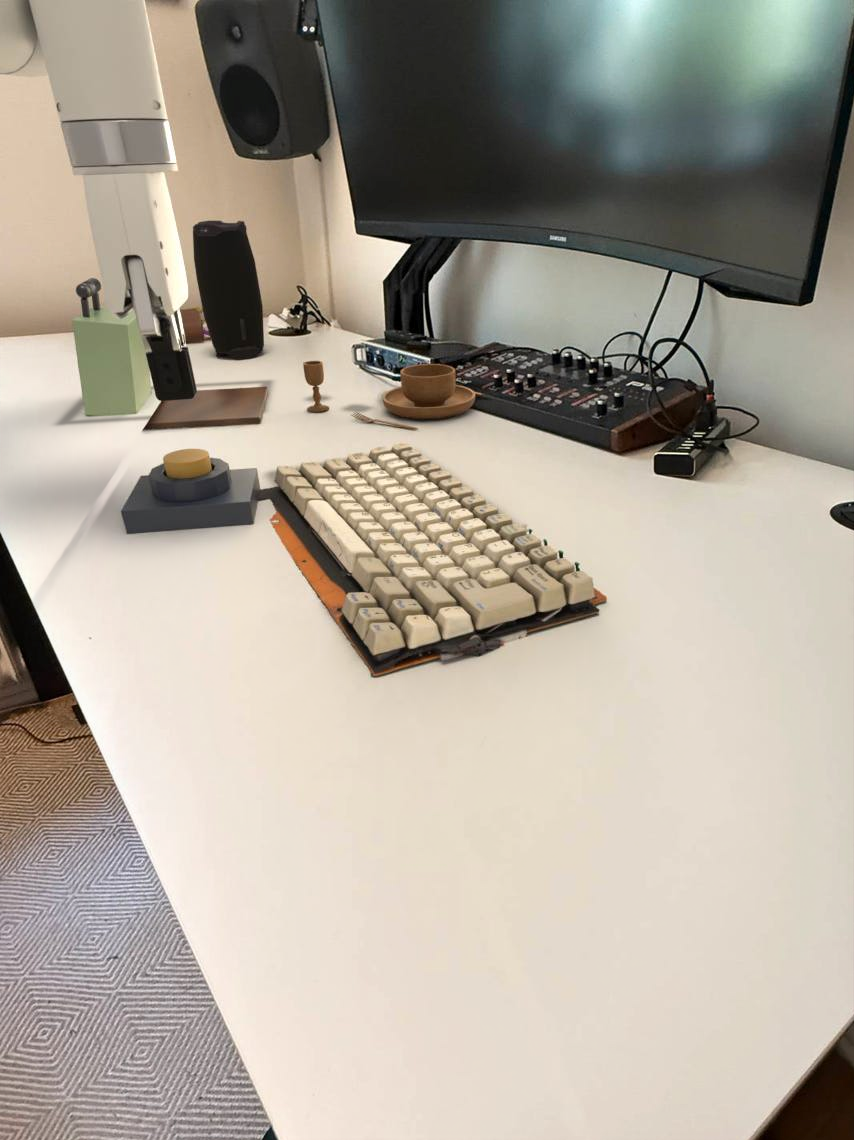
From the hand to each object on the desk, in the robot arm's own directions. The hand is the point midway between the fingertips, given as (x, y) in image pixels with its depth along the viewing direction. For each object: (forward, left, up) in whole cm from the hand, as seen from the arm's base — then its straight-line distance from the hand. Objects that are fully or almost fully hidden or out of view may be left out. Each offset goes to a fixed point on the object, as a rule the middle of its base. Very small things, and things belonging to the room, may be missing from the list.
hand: (177, 397), depth 70 cm
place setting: (+22, +32, -11) cm, 40 cm away
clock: (-14, +35, -9) cm, 39 cm away
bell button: (0, 0, -7) cm, 7 cm away
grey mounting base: (0, 0, -11) cm, 11 cm away
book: (-18, +86, -11) cm, 89 cm away
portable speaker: (-2, +68, -11) cm, 69 cm away
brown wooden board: (-8, +35, -11) cm, 38 cm away
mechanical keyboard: (+18, -11, -11) cm, 24 cm away
